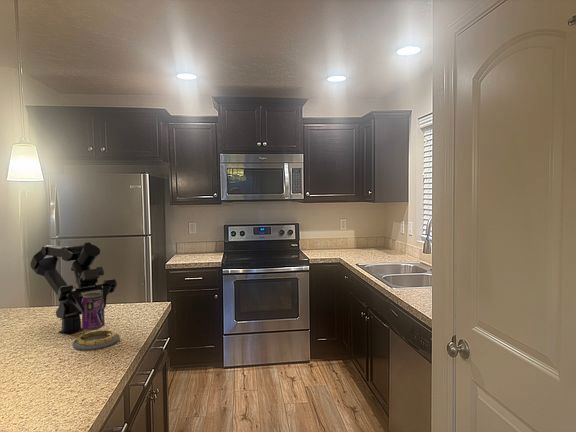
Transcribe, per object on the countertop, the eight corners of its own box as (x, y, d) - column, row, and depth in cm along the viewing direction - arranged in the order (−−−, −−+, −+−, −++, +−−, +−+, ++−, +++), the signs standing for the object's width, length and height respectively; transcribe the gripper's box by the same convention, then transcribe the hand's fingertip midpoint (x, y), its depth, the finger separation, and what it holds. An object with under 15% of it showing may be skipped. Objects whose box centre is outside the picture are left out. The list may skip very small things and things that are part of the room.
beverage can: (94, 332, 132) (93, 297, 132) (77, 330, 134) (76, 296, 134) (109, 325, 139) (108, 292, 139) (92, 324, 141) (91, 291, 140)
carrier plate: (62, 347, 134) (62, 339, 134) (98, 332, 148) (98, 326, 148) (94, 353, 129) (94, 345, 128) (128, 337, 142) (128, 331, 142)
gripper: (58, 263, 132) (68, 302, 124) (114, 257, 145) (127, 291, 137) (53, 282, 138) (62, 320, 131) (107, 274, 151) (119, 308, 144)
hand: (94, 309), depth 135 cm, fingers closed on beverage can, 7 cm apart
